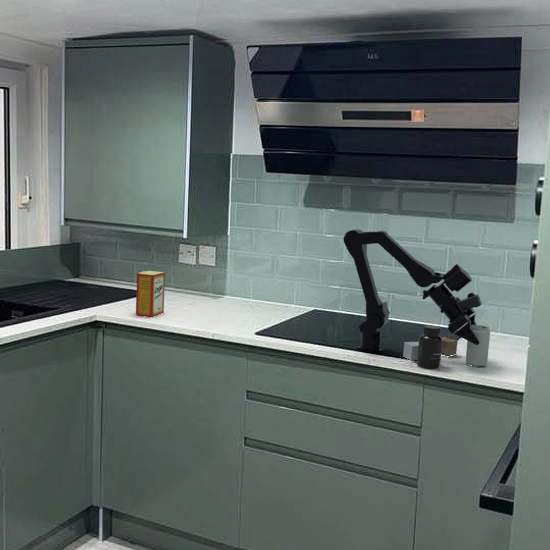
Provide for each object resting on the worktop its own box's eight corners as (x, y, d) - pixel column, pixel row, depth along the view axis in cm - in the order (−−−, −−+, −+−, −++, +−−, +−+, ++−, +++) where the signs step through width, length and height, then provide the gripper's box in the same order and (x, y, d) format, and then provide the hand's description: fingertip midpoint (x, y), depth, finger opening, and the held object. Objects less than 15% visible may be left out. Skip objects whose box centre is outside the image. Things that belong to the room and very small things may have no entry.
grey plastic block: (403, 357, 224) (404, 342, 223) (417, 357, 225) (418, 341, 224) (410, 362, 219) (412, 346, 218) (425, 361, 220) (426, 345, 220)
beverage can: (486, 368, 215) (490, 329, 214) (464, 366, 217) (468, 327, 216) (487, 364, 221) (491, 325, 220) (465, 361, 223) (469, 323, 222)
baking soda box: (148, 311, 273) (149, 269, 271) (163, 313, 271) (165, 271, 269) (135, 315, 265) (137, 272, 262) (151, 317, 263) (153, 274, 260)
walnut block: (433, 354, 230) (435, 339, 230) (443, 352, 234) (444, 337, 233) (447, 357, 227) (448, 342, 226) (456, 355, 230) (457, 340, 229)
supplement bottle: (437, 370, 210) (441, 330, 208) (414, 367, 213) (417, 327, 211) (441, 365, 217) (445, 326, 215) (418, 362, 219) (422, 323, 217)
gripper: (462, 288, 209) (498, 330, 207) (470, 281, 226) (503, 319, 224) (433, 312, 213) (468, 353, 211) (442, 303, 230) (475, 341, 228)
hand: (480, 341), depth 218 cm, fingers open, 9 cm apart
